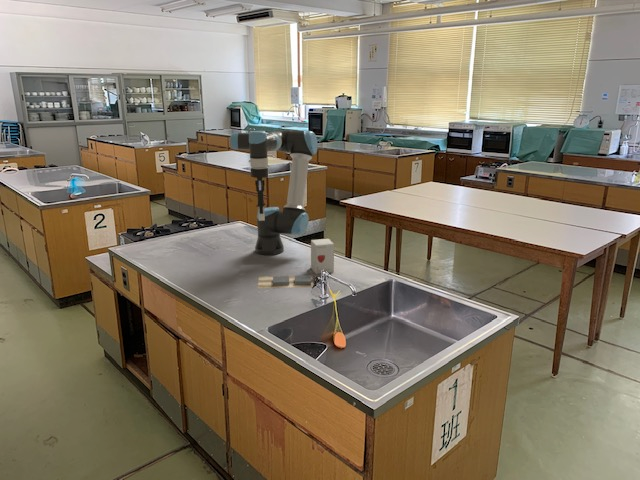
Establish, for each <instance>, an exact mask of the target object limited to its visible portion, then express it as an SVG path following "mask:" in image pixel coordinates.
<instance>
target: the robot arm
mask: <svg viewBox="0 0 640 480" xmlns="http://www.w3.org/2000/svg"><path fill="white" fill-rule="evenodd" d="M229 145H230V148H231V149H232V150H235V151H236V150H238V151H249V160H248V162H249V164H250V167H251V168H250V176H251V178H255V179H256V180H255V181H254V182H255V183H254V184H255V191H256V192H257V205H256V207H257V213H256V222H257V223H256V224H257V240H256V243H255V246H254V250H255V251H254V252H255V253H256V254H258V255H262V256H263V255H264V256H273V255H274V256H275V255H279V254H281V253H283V252H284V251H285V250H284V244H283V241H282V238H281V234H284V235H291V236H292V235H293V236H301V235H303V234H304V233H305V232H306V230H307V228H308V225H309V221H310V220H309V214H308V213H307V212H306V208H305V207H304V203H305V195H306V187H307V179H308V171H309V162H310V160H312V159H313V155H316V154H317V152H318V145H319V144H318V139H317V135H316V134H315V132H313V131H311V130H306V129H305V130H293V129H292V130H290V129H289V130H288V129H287V130H284V129H283V130H279V131H277V130H276V131H270V132H268V133H267V132H266V131H265V130H251V131H249V132H232V133H231V135H230V137H229ZM270 151H273V152H281V153H286V154H287V153H288V154H289V156H290V158H291V160H292V161H291V167H290V174H289V183H288V192H287V199H286V204H285V205H284V206H283V207H282V210H280V208H279V206H269V207H265V206H266V203H265V200H264V192H265V179H264V180H263V178H267V177H268V176H269V167H268V166H269V156H268V152H270Z"/></svg>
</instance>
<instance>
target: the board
mask: <svg viewBox="0 0 640 480" xmlns="http://www.w3.org/2000/svg"><path fill="white" fill-rule="evenodd" d="M303 275H304V274H303ZM303 275H301V274H300V276H303ZM273 276H274V275H273ZM273 276H272V275H270V276H267V275H266V276H264V275H263V276H259V277H258V282H257V289H292V288H314V287H313V285H314V278H313V275H312V274H311V284H306V285H295V276H296V275H288V276H289V285H274V286H273Z"/></svg>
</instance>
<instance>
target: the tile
mask: <svg viewBox="0 0 640 480" xmlns="http://www.w3.org/2000/svg"><path fill="white" fill-rule="evenodd" d="M289 276H290V275H273V286H274V285H289Z"/></svg>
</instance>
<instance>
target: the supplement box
mask: <svg viewBox="0 0 640 480" xmlns="http://www.w3.org/2000/svg"><path fill="white" fill-rule="evenodd" d="M310 268H311V270H312V272H313V273H314V274H322V273H321V270H323V269H324V270H326V271H327V272H328V273H334V272H335V271H334V270H335V269H334V268H335V244H334V242H333V241H331V239H330V238H323V239H322V238H321V239H319V238H318V239H311V240H310Z"/></svg>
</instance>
